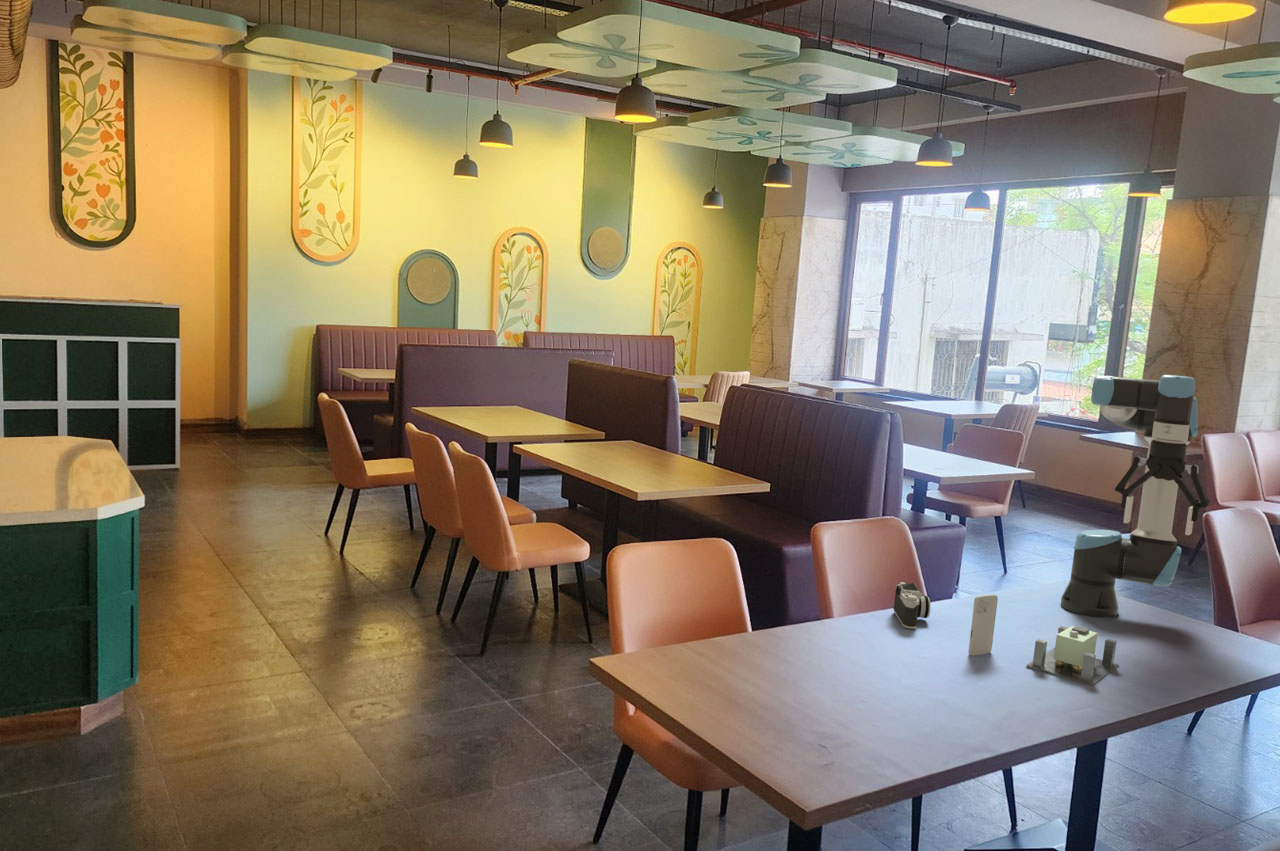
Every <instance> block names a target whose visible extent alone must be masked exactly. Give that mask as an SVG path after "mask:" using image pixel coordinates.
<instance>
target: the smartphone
mask: <svg viewBox="0 0 1280 851" xmlns="http://www.w3.org/2000/svg"><path fill="white" fill-rule="evenodd" d="M998 599H999V598H998V595H996V594H994V593H993V594H991V593H990V594H984V595H983V594H982V595H977V596H976V597H975V598H974V601H973V608H972V609H973V611H972V617H971V618H972V619H971V625H970V626H971V628H970V637H969V643H968V656H972V657H974V656H978V655H979V656H980V655H986V654H990V653H991V652H992V649H993V643H994V642H993V640H994V633H995V625H996V624H995V623H996V617H997V616H996V615H997V608H998Z"/></svg>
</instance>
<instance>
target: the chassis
mask: <svg viewBox="0 0 1280 851" xmlns="http://www.w3.org/2000/svg"><path fill="white" fill-rule="evenodd" d="M1067 628H1068V627H1067V626H1062V625H1061V626H1059V627H1058V628H1057V629H1058V630H1057V634H1059V633H1061V632H1062V631H1064V630H1066V629H1067ZM1117 642H1118V641H1117V640H1115V639H1111V638H1107V639H1105V640H1104V645H1103V646H1104V647H1103V655H1102V659H1099V658H1097V657H1096V656H1097V655H1096V654H1095V655H1094V654H1090V653H1085V654H1084V657H1083V665H1082V666H1080V667H1079V666H1076V665H1072V664H1069V663H1066V662H1062V661H1059V660H1055V659H1054V652H1055V647H1053V648H1052V649H1050V650H1049V651H1047V649H1048V648H1047V647H1048V640H1045V639H1040V638H1039V639H1036V640H1035V642H1034V643H1035V644H1034V651H1033V659H1032V661H1030V662H1028V663H1027V664H1026V669H1031V670H1034V671H1038V672H1040V671H1041V673H1045V674H1048V673H1049V675H1051V674H1052V676H1056V677H1058V676H1059V678H1062V679H1066V680H1070V681H1073V682H1077V683H1080V684H1085V685H1087V686H1091V687H1093V686H1094V685H1096V684H1097V683H1099V682H1100V681H1101V680H1102V679H1104V678H1105V677H1107V676H1108V675H1109V674H1110V673H1112V672H1113V671H1114V670H1116V669H1117V668H1118V667H1120V665H1119V664H1117V663H1115V657H1116V648H1117Z"/></svg>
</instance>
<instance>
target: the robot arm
mask: <svg viewBox="0 0 1280 851" xmlns="http://www.w3.org/2000/svg"><path fill="white" fill-rule="evenodd" d="M1091 388H1092V390H1091V397H1090V398H1091V399H1090V401H1091V403H1092V404H1093V405H1096V406H1099V411H1100V413H1101V414H1102V416H1103V417H1104V418H1105V419H1106V420H1107V421H1109V422H1111V423H1113V424H1114V425H1117V426H1119V427H1121V428H1125V429H1127V430H1128V429H1129V430H1132V431H1141V432H1144V434H1143V439H1144V440H1145V441H1146V442H1147V444H1148V449H1147V456H1146V458H1144V457H1143V456H1140V455H1138V456H1135V457H1134V458H1133V460H1132V464H1131V466H1130V467H1129V469H1128V470H1127V472H1126V473H1125V475H1123V477H1122V478H1121V479H1120V481H1119V483H1117V485H1116V487H1115V488H1114V490H1115V492H1118V493H1119V494H1121V496H1122V497H1121V498H1122V499H1121V504H1120V505H1121V506H1120V507H1121V509H1124V515H1123V523H1124V524H1129V523H1131V519H1132V510H1133V504H1134V495H1132V493H1133V492H1135V491H1136V490H1138V488H1140V487H1141V486H1142V493H1141V500H1140V506H1139V514H1138V520H1137V527H1136V529H1134V530H1133V531H1131V532H1130V534H1129V538H1123V535H1122V533H1121V532H1120V531H1117V530H1110V529H1085V530H1083V531H1079V533H1077V535H1076V537H1075V541H1074V542H1075V544H1074V546H1073V549H1074V551H1073V559H1072V565H1071V572H1070V579H1069V582H1068V583H1067V586H1066V588H1065V589H1064V592H1063V594H1062V595H1061V599H1060V606H1061V607H1062V608H1063V609H1065V610H1067V611H1069V612H1071V613H1074V614H1078V615H1083V616H1085V617H1092V618H1114V617H1116V616H1118V614H1119V603H1118V598H1117V594H1116V589H1115V585H1116V580H1122V581H1123V580H1124V581H1128V582H1134V583H1139V584H1144V585H1145V584H1146V585H1150V586H1157V587H1169V586H1170V585H1172V583H1173V581H1174V578H1175V576H1176V574H1177V573H1176V572H1177V569H1178V566H1179V562H1180V558H1181V554H1182V548H1181V547H1180V546H1177V544H1178V542H1177V541H1178V540H1177V538H1175V536H1174V535H1173V532H1172V531H1173V525H1174V517H1175V512H1176V511H1175V510H1176V504H1177V503H1176V502H1177V496H1178V489H1179V488H1180V490H1181V491H1182V493H1183V495H1184V496H1185V498H1187V500H1188V502H1189V504H1190V505H1191V506H1189V507H1188V511H1187V519H1186V526H1185V532H1184V535H1185V536H1190V535H1191V534H1192V533H1193V526H1194V522H1195V523H1196V522H1198V521H1199V519H1200V513H1201V512H1200V511H1201V508H1206V507H1210V505H1211V502H1210V501H1211V500H1210V499H1209V496H1208V494H1207V490H1206V489H1205V486H1204V483H1203V481H1202V478H1201V475H1200V465H1199V464H1194V465H1191V464H1186V462H1185V460H1186V454H1187V453H1186V452H1187V447H1188V445H1190V444H1191V441H1192V440H1191V439H1192V438H1195V437H1198V435H1199V434H1198V433H1199V428H1198V427H1199V409H1198V408H1199V407H1198V399H1197V398H1196V396H1195V394H1196V379H1195V378H1194V377H1192V376H1186V375H1174V374H1164V375H1162V376H1161V377H1160V379H1159V380H1157V379H1144V378H1143V379H1142V378H1133V377H1132V378H1130V377H1121V376H1112V375H1096V376H1095V377H1094V378H1093V383H1092V387H1091ZM1144 465H1145V468H1144V469H1145V471H1144V474H1143V475H1142V476H1140V477H1139V478H1138V479H1137V480H1136V481H1135V482H1133V483H1132V484H1131V485H1129V486H1128V487H1127V485H1128V484H1129V482H1130V481H1131V479H1133V477H1134V476H1135V475H1136V474H1137V472H1138V470H1139V469H1140V467H1142V466H1144ZM1185 471H1187V473H1188V474H1189V475H1190V478H1191V480H1192V483H1193V485H1194V489H1195V490H1196V493H1197V495H1196V494H1195V493H1194V492H1193V489H1191V487H1190V486H1189V484H1188V483H1187V482H1186V480H1185V477H1184V476H1183V475H1182V474H1183V473H1184V472H1185ZM1125 487H1127V488H1125ZM1197 496H1198V497H1197ZM1198 498H1199V499H1198Z"/></svg>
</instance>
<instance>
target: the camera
mask: <svg viewBox="0 0 1280 851" xmlns="http://www.w3.org/2000/svg"><path fill="white" fill-rule="evenodd" d="M894 593H895V595H894V601H893V602H894V604H893V612H894V614H895V616H896V617H897V619H898V621H899V622H900V624H901V625H902V627H903V628H906V629H911V630H915V629H917V627H918V618H922V619H927V618H929V617H930V614H931V600H930V597H929V596H927V595H923V594H922V592H921V590H920V588H919V587H918V586H917V584H916V583H915V582H908V583H906V582H902V581H901V582H899V584H896V585H895V592H894Z"/></svg>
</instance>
